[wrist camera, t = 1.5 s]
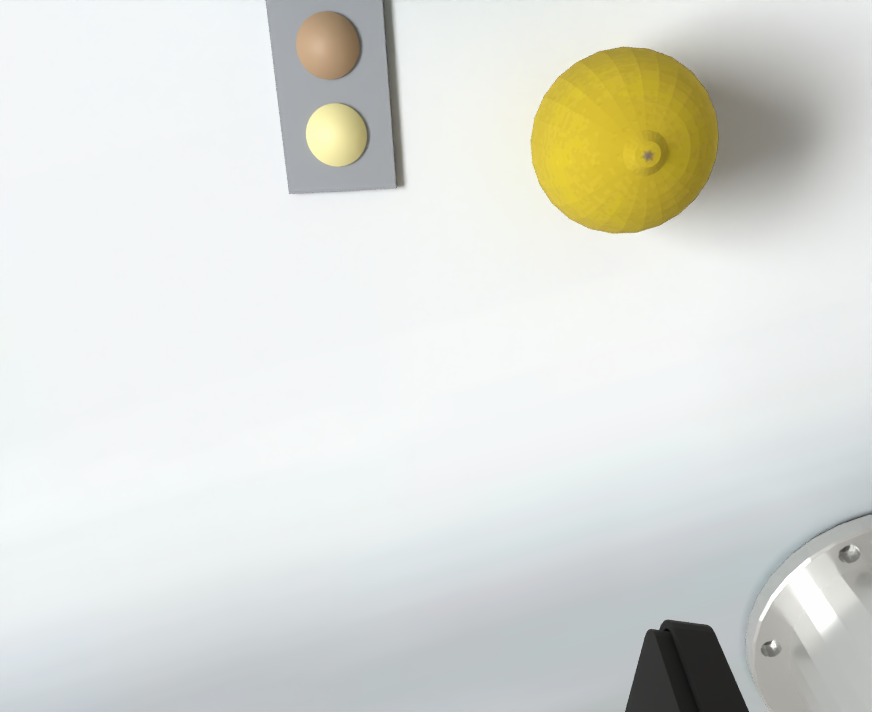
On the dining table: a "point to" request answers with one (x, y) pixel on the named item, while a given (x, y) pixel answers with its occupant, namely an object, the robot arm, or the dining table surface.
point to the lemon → (624, 140)
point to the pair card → (333, 94)
